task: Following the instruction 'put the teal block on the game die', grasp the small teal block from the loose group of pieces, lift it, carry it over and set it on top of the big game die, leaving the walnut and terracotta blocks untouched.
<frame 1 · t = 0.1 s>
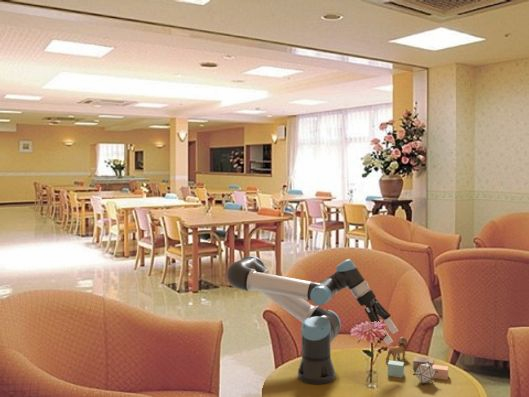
hand: (392, 337, 216), 15 cm above the table, tool tilted 35°, fingers open, 13 cm apart
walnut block: (423, 369, 222), on the table
terracotta block: (440, 376, 214), on the table
teal block: (395, 374, 217), on the table
game die: (425, 383, 208), on the table
lion figurine: (396, 360, 232), on the table
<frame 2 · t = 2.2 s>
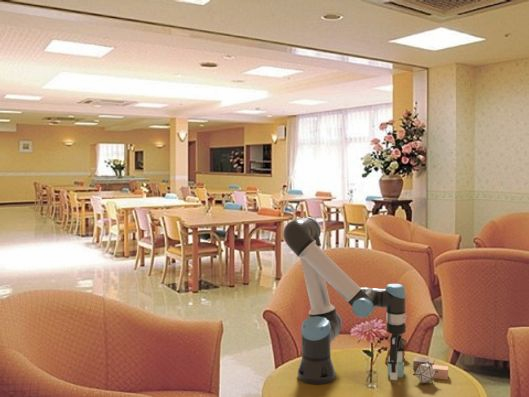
hand: (396, 372, 216), 1 cm above the table, tool pointing down, fingers open, 13 cm apart
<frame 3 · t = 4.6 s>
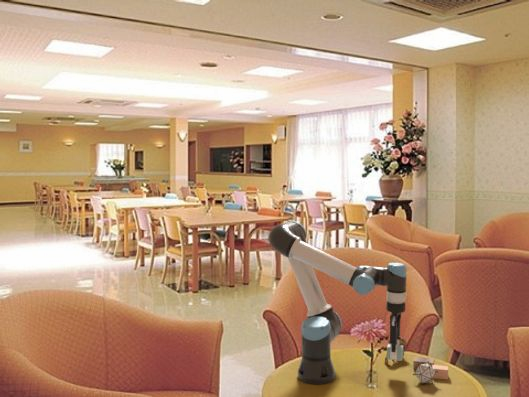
hand: (394, 356, 216), 7 cm above the table, tool pointing down, fingers closed on teal block, 4 cm apart
teal block: (394, 358, 216), point 7 cm above the table, touching gripper
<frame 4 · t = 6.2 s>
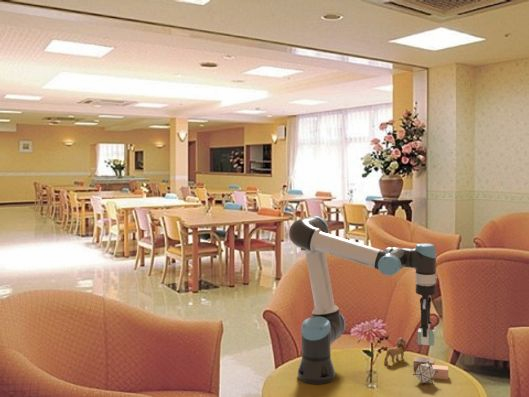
hand: (425, 342, 207), 17 cm above the table, tool pointing down, fingers closed on teal block, 4 cm apart
teal block: (426, 343, 207), point 16 cm above the table, touching gripper
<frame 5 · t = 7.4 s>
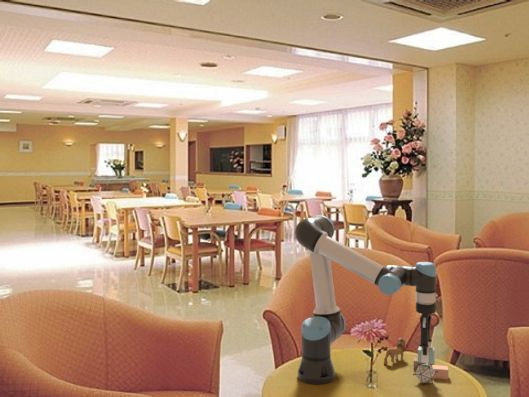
hand: (425, 360, 207), 9 cm above the table, tool pointing down, fingers closed on teal block, 4 cm apart
teal block: (426, 361, 207), point 9 cm above the table, touching gripper
when the fingers open (9 cm above the table, at t = 8.1 s): teal block stays where it is, resting on game die.
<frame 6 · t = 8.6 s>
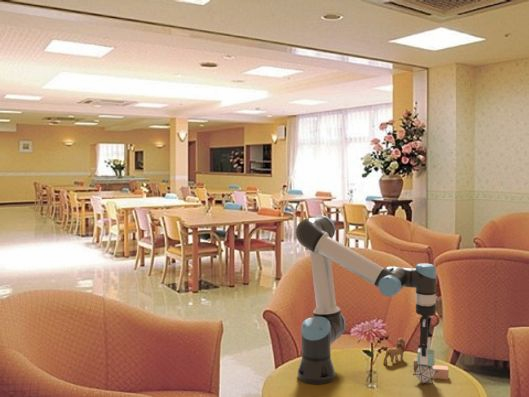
hand: (425, 358, 207), 10 cm above the table, tool pointing down, fingers open, 11 cm apart
teal block: (425, 363, 208), point 8 cm above the table, touching game die
game die: (425, 383, 208), on the table, touching teal block
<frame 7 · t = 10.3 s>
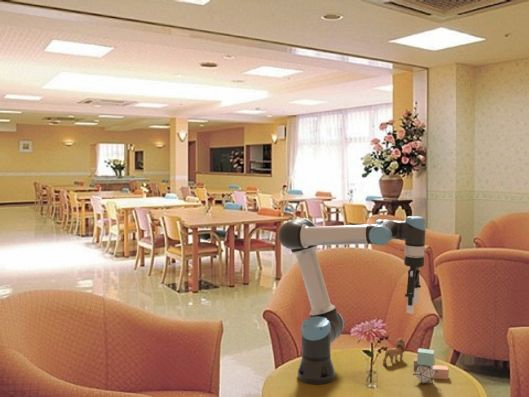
hand: (412, 308, 210), 29 cm above the table, tool pointing down, fingers open, 13 cm apart
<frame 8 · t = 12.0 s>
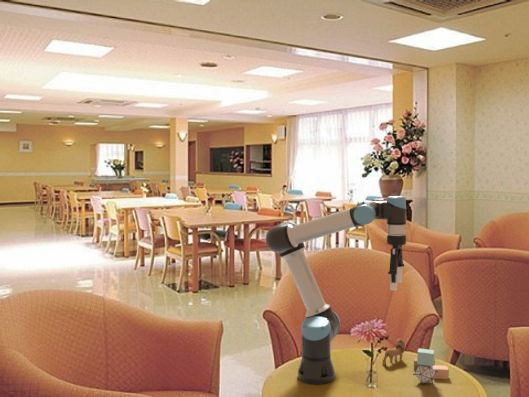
hand: (396, 286, 214), 37 cm above the table, tool pointing down, fingers open, 13 cm apart
at the end: teal block inside the target area in the game die (0.2 cm from its centre), point 8.2 cm above the game die's base; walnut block moved 0.4 cm from its start; terracotta block moved 0.2 cm from its start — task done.
